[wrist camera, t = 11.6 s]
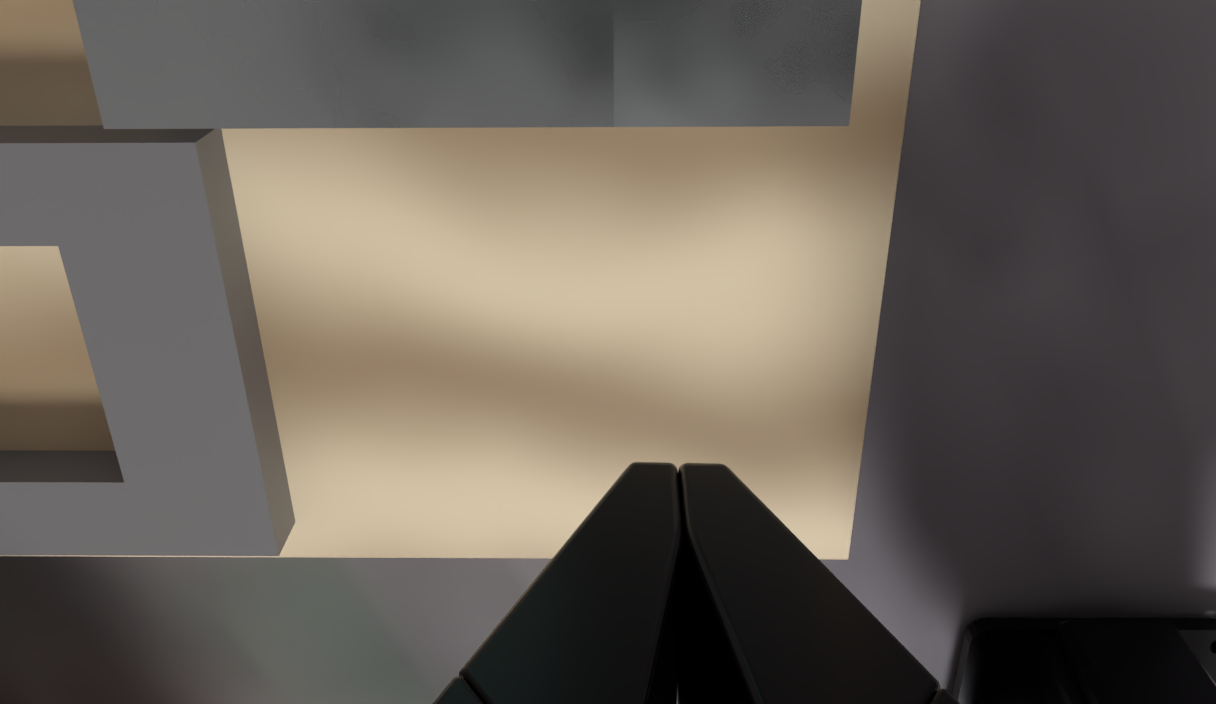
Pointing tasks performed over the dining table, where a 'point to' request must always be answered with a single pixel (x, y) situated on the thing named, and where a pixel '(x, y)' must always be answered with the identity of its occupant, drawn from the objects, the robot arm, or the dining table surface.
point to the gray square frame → (147, 350)
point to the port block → (470, 63)
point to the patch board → (516, 308)
